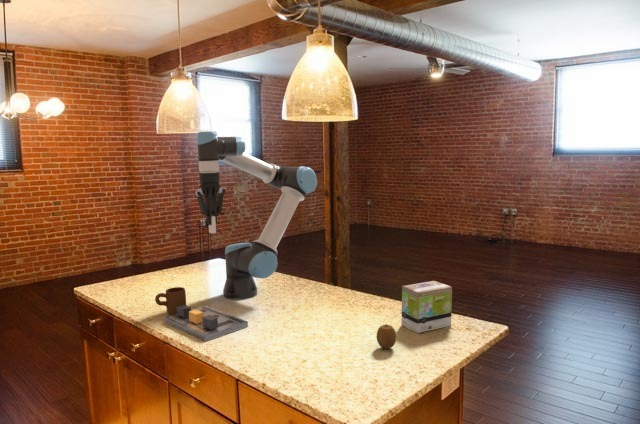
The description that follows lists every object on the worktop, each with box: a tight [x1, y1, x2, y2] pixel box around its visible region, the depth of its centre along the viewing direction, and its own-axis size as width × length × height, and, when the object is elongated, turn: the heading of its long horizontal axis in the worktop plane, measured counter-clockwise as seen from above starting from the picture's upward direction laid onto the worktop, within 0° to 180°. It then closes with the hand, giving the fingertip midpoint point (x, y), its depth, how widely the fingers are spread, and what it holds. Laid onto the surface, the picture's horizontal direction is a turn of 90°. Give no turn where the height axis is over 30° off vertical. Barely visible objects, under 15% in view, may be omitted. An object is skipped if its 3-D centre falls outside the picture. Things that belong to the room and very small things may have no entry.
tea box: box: [400, 280, 453, 334], centre depth 167 cm, size 15×10×15 cm, turn 117°
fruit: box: [376, 323, 397, 350], centre depth 149 cm, size 6×6×8 cm
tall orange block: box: [189, 309, 204, 324], centre depth 171 cm, size 3×5×4 cm, turn 46°
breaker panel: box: [163, 304, 249, 343], centre depth 174 cm, size 18×28×6 cm, turn 46°
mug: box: [154, 286, 187, 316], centre depth 187 cm, size 12×8×9 cm, turn 128°
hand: (212, 232), depth 184 cm, fingers closed
